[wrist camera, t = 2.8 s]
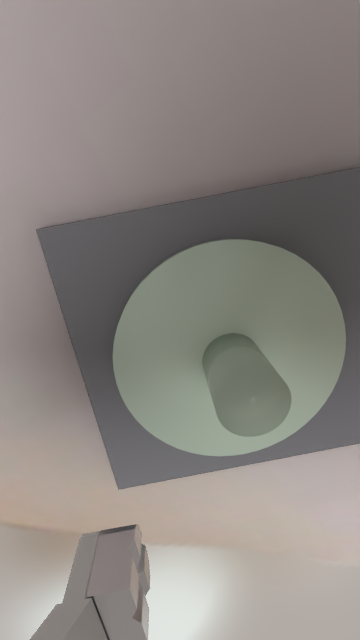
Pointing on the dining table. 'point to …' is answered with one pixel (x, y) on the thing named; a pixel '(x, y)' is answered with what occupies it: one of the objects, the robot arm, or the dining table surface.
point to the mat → (177, 234)
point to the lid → (228, 347)
